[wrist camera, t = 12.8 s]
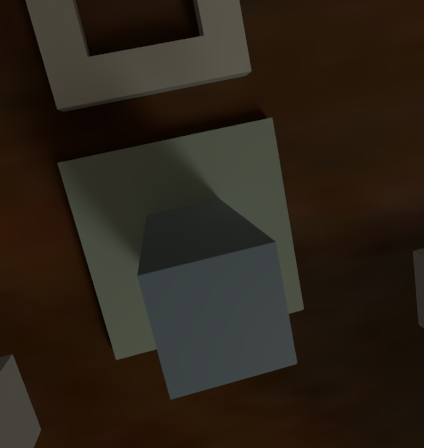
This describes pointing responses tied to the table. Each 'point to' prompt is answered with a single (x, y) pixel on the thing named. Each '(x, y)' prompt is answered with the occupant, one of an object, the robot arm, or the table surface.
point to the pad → (169, 200)
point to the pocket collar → (136, 56)
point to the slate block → (213, 297)
